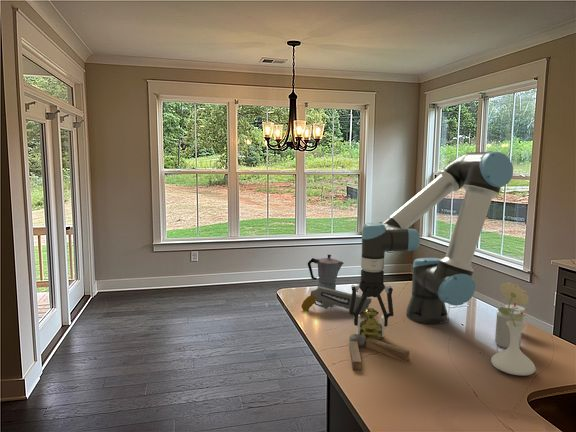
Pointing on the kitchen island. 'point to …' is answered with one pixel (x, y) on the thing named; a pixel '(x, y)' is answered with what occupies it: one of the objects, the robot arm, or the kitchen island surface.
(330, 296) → the gun
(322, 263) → the moka pot
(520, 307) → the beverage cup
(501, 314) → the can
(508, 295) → the flower in vase
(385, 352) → the long rectangular block
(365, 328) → the yellow-green tapered rounded piece
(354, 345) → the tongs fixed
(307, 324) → the kitchen island surface
